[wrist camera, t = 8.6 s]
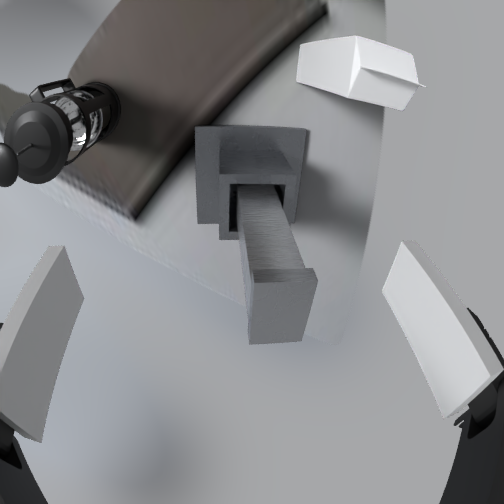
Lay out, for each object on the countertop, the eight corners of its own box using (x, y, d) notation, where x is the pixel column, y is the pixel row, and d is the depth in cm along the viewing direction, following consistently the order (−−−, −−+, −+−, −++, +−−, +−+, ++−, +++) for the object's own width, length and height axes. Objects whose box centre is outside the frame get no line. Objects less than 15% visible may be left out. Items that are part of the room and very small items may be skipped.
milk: (334, 88, 38) (423, 121, 20) (294, 81, 37) (362, 106, 19) (339, 50, 34) (434, 57, 16) (299, 43, 33) (373, 33, 16)
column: (237, 172, 36) (254, 282, 20) (272, 172, 37) (318, 280, 21) (235, 220, 40) (249, 344, 24) (268, 220, 41) (301, 341, 25)
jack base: (195, 125, 39) (186, 148, 30) (304, 128, 41) (332, 153, 31) (198, 220, 49) (193, 267, 39) (292, 220, 50) (311, 265, 41)
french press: (133, 124, 38) (62, 188, 19) (87, 155, 39) (6, 235, 21) (98, 61, 31) (-2, 76, 13) (53, 97, 33) (-50, 144, 14)
